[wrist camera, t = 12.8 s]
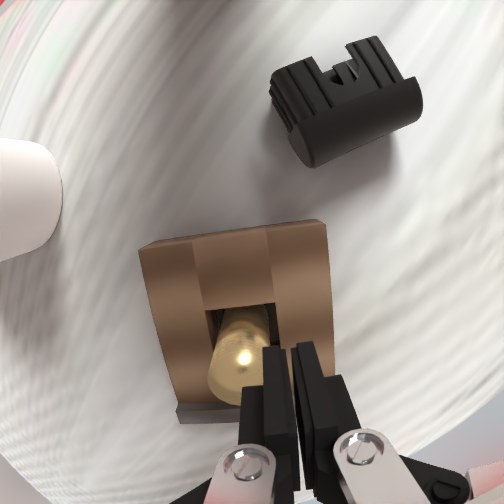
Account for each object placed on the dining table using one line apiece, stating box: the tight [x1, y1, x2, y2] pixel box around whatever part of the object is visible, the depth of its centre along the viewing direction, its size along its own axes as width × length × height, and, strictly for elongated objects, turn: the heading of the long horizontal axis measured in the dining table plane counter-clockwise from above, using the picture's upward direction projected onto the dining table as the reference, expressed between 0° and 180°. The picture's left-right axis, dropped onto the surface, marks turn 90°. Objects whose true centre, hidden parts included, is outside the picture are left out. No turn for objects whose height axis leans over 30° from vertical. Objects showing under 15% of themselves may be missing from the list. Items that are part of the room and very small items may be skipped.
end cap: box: [269, 36, 423, 168], centre depth 21 cm, size 10×7×7 cm
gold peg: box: [207, 304, 270, 405], centre depth 23 cm, size 4×4×10 cm
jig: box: [138, 219, 335, 424], centre depth 25 cm, size 16×14×5 cm
